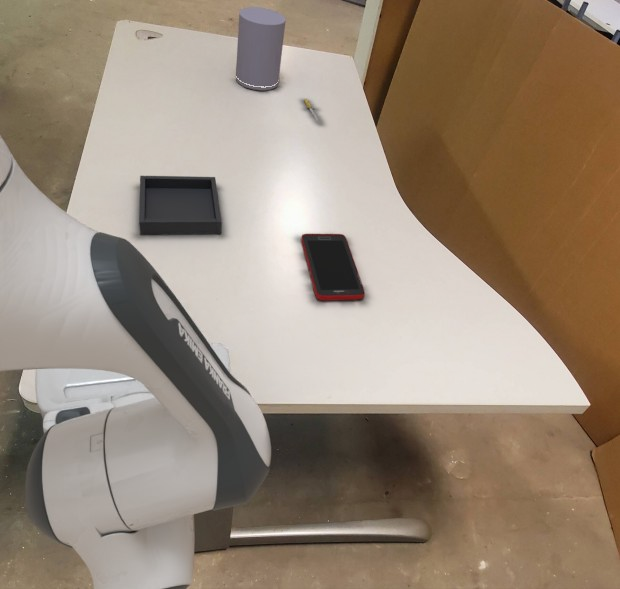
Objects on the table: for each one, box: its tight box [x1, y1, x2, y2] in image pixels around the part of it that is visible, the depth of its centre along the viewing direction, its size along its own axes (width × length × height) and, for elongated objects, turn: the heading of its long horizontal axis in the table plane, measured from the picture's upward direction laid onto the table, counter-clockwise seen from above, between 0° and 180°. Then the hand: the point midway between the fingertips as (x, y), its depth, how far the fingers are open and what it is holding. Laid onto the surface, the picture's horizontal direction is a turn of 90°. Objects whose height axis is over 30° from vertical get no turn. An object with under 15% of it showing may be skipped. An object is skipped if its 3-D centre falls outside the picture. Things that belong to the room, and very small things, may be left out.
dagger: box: [303, 98, 318, 122], centre depth 120 cm, size 11×1×2 cm
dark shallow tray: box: [138, 175, 223, 236], centre depth 87 cm, size 13×13×3 cm
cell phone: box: [300, 233, 366, 301], centre depth 83 cm, size 8×15×1 cm, turn 10°
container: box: [235, 6, 287, 92], centre depth 122 cm, size 10×10×15 cm
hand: (136, 327), depth 62 cm, fingers open, 8 cm apart
